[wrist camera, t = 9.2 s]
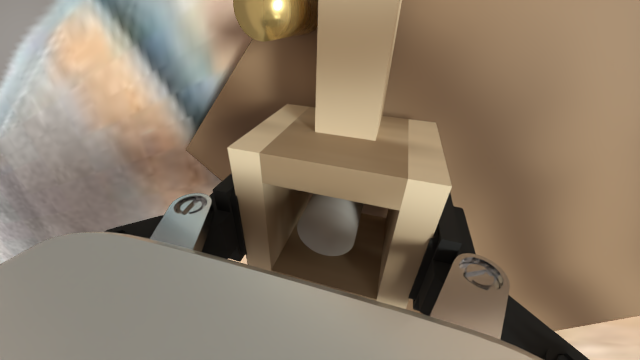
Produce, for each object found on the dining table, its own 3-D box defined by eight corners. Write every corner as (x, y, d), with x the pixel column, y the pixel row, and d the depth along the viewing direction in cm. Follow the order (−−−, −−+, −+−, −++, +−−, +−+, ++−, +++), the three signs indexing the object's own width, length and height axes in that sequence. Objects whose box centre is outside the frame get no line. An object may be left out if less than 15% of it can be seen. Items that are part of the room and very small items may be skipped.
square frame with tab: (402, 237, 13) (400, 323, 9) (290, 212, 14) (250, 280, 11) (480, -30, 7) (549, -75, 4) (282, -32, 9) (190, -66, 5)
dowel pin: (304, 43, 10) (266, 54, 8) (275, 12, 10) (223, 11, 7) (331, 7, 10) (298, 5, 7) (299, -28, 9) (252, -47, 6)
